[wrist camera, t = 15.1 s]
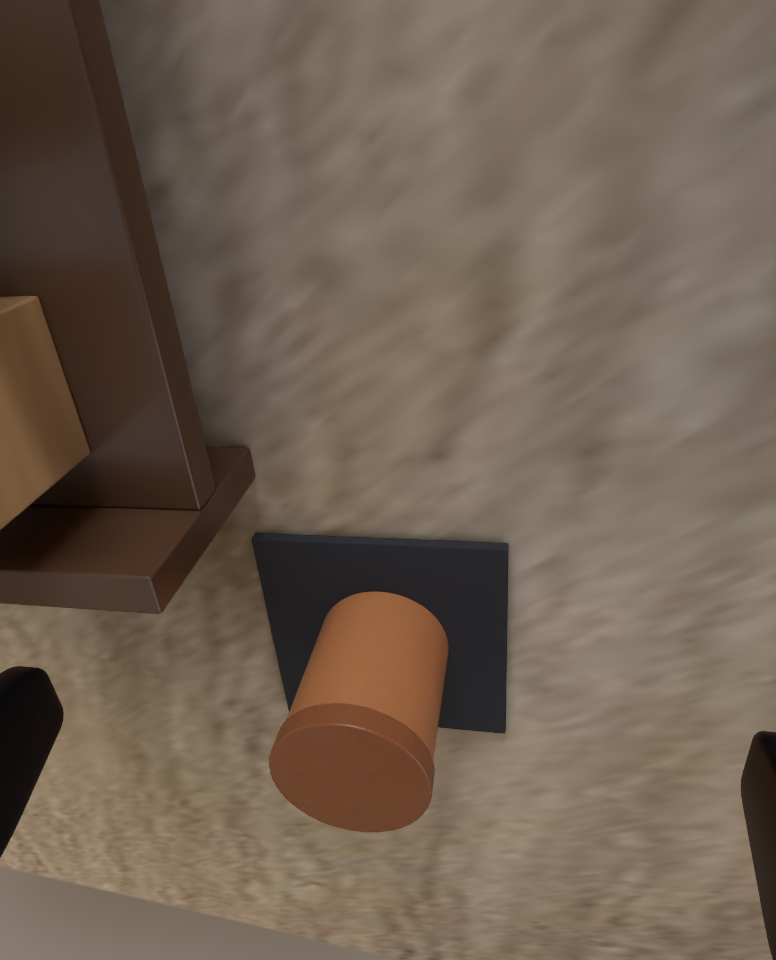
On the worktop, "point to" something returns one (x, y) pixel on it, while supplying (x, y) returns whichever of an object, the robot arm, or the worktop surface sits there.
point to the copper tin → (366, 716)
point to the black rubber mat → (407, 572)
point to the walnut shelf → (99, 332)
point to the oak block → (33, 409)
